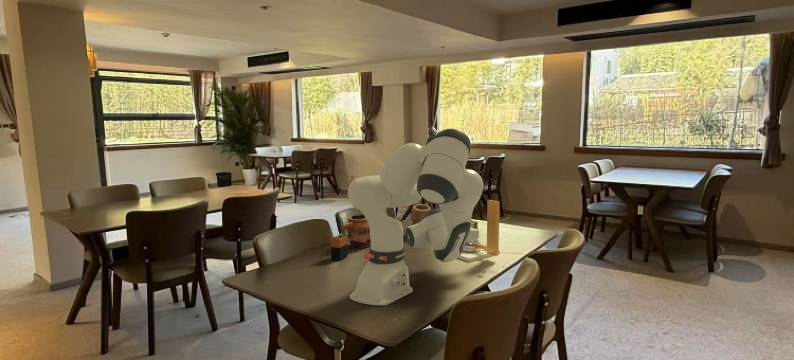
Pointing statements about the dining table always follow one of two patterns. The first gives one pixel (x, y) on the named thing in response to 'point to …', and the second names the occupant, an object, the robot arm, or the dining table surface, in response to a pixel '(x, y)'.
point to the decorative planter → (357, 231)
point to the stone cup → (418, 212)
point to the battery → (339, 247)
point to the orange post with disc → (488, 232)
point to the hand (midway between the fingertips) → (470, 227)
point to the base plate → (475, 255)
